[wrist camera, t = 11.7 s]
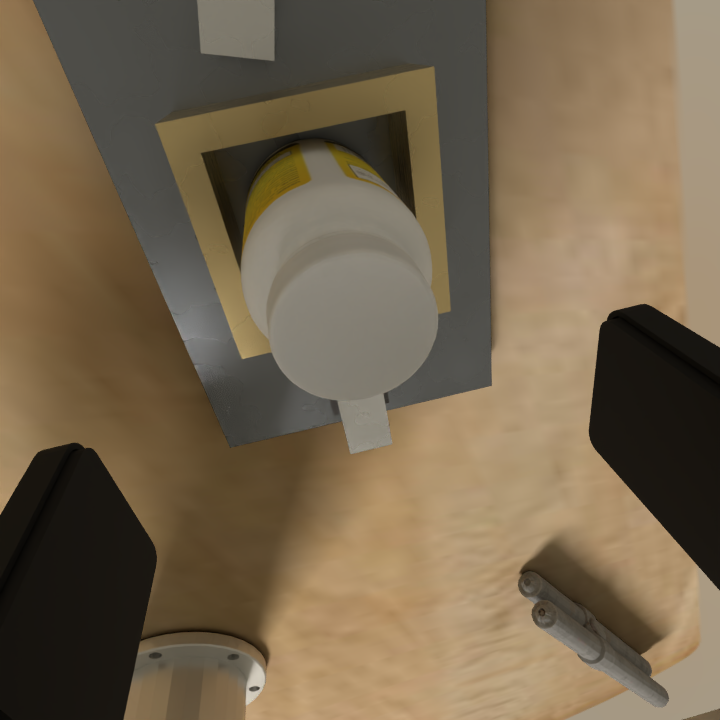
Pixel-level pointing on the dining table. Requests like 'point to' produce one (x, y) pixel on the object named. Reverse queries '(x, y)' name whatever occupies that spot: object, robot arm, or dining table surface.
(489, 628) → the dining table surface
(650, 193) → the dining table surface
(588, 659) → the metal rod assembly
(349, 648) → the dining table surface
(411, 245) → the supplement bottle
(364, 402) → the stand
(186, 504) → the dining table surface
